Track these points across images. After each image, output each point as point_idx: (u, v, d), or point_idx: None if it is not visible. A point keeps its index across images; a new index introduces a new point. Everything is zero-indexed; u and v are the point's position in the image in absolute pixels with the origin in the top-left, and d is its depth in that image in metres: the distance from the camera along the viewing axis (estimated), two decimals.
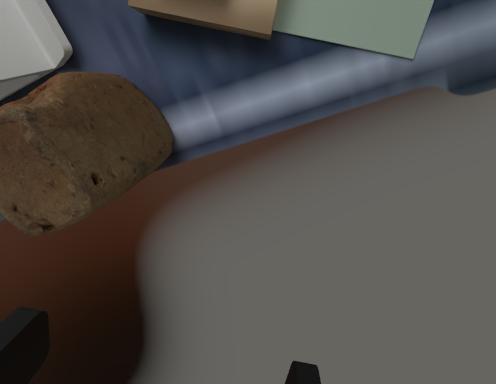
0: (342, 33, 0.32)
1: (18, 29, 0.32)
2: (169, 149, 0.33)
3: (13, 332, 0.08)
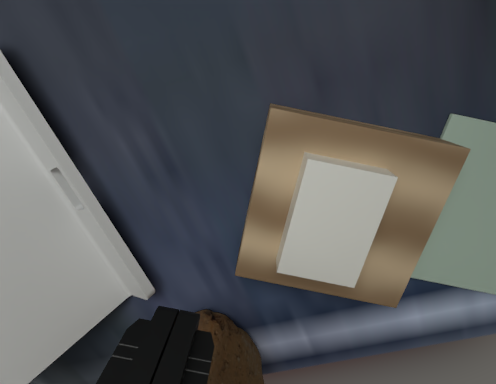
0: (464, 278, 0.28)
1: (95, 269, 0.29)
2: None
3: (166, 328, 0.09)
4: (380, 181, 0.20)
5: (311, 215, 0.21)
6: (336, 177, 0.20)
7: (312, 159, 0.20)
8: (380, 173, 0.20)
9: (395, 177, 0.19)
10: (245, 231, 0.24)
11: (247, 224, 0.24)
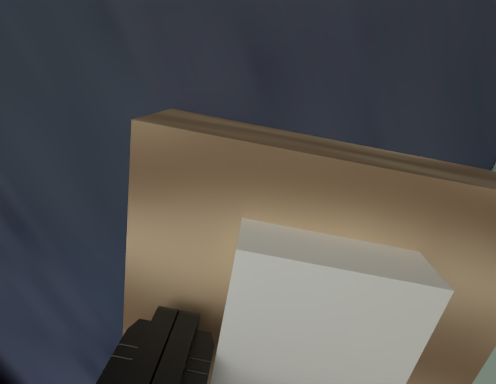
0: None
1: None
2: None
3: (166, 328, 0.09)
4: (411, 298, 0.08)
5: (257, 361, 0.09)
6: (307, 289, 0.08)
7: (248, 248, 0.08)
8: (411, 280, 0.08)
9: (447, 290, 0.08)
10: None
11: None
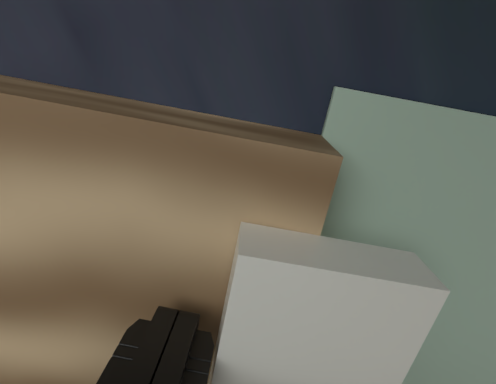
0: None
1: None
2: None
3: (166, 328, 0.09)
4: (409, 299, 0.08)
5: (257, 365, 0.09)
6: (308, 292, 0.08)
7: (250, 253, 0.08)
8: (409, 281, 0.08)
9: (444, 291, 0.08)
10: None
11: None
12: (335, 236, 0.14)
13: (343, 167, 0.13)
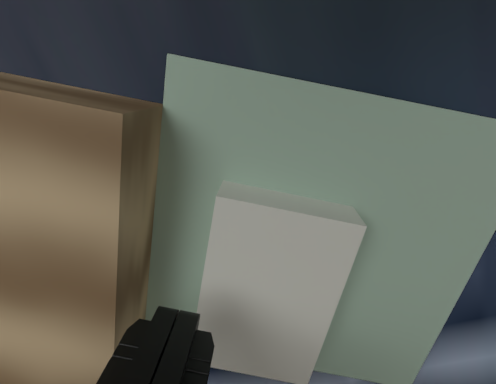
0: None
1: None
2: None
3: (166, 328, 0.09)
4: None
5: None
6: None
7: (346, 206, 0.13)
8: (247, 186, 0.13)
9: (225, 182, 0.13)
10: None
11: None
12: (192, 209, 0.14)
13: (188, 137, 0.13)
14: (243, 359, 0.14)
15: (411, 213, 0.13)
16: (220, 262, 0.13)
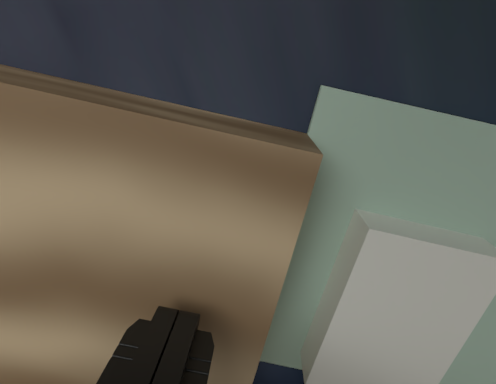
0: None
1: None
2: None
3: (166, 328, 0.09)
4: None
5: None
6: None
7: (477, 238, 0.13)
8: (380, 215, 0.13)
9: (358, 210, 0.14)
10: None
11: None
12: (318, 235, 0.14)
13: (327, 166, 0.13)
14: None
15: None
16: (359, 292, 0.13)
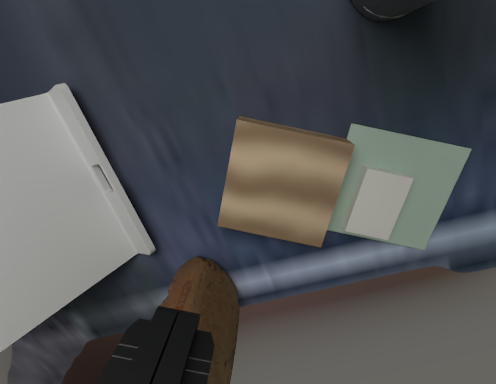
0: None
1: (115, 233, 0.44)
2: (238, 313, 0.44)
3: (166, 328, 0.09)
4: None
5: None
6: None
7: None
8: (371, 166, 0.39)
9: (363, 164, 0.39)
10: (223, 196, 0.38)
11: (224, 191, 0.38)
12: (349, 174, 0.40)
13: (353, 149, 0.39)
14: (365, 229, 0.40)
15: (427, 176, 0.39)
16: (364, 191, 0.38)
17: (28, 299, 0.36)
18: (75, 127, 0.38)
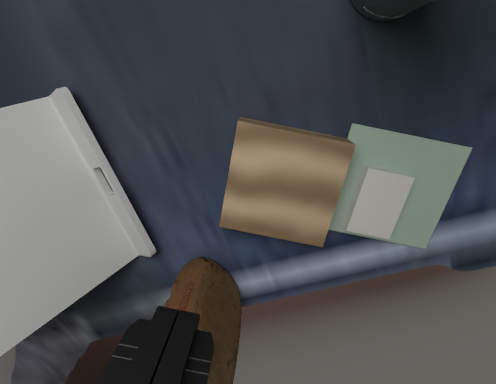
0: None
1: (116, 235, 0.44)
2: (241, 313, 0.44)
3: (166, 328, 0.09)
4: None
5: None
6: None
7: (406, 173, 0.39)
8: (372, 166, 0.39)
9: (364, 164, 0.39)
10: (225, 197, 0.38)
11: (226, 192, 0.38)
12: (350, 174, 0.40)
13: (354, 149, 0.39)
14: (367, 228, 0.40)
15: (428, 175, 0.39)
16: (365, 190, 0.38)
17: (30, 301, 0.36)
18: (76, 130, 0.38)
